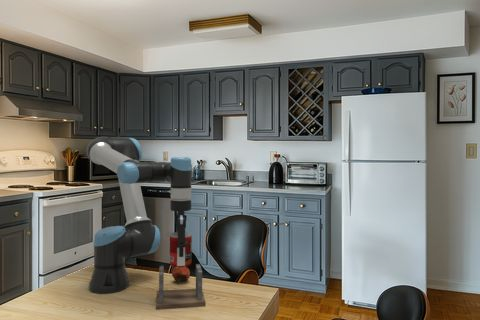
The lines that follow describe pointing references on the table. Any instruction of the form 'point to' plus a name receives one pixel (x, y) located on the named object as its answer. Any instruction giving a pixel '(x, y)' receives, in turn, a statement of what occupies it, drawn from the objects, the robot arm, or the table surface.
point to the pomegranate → (181, 274)
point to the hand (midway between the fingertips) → (180, 262)
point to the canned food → (174, 250)
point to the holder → (180, 293)
